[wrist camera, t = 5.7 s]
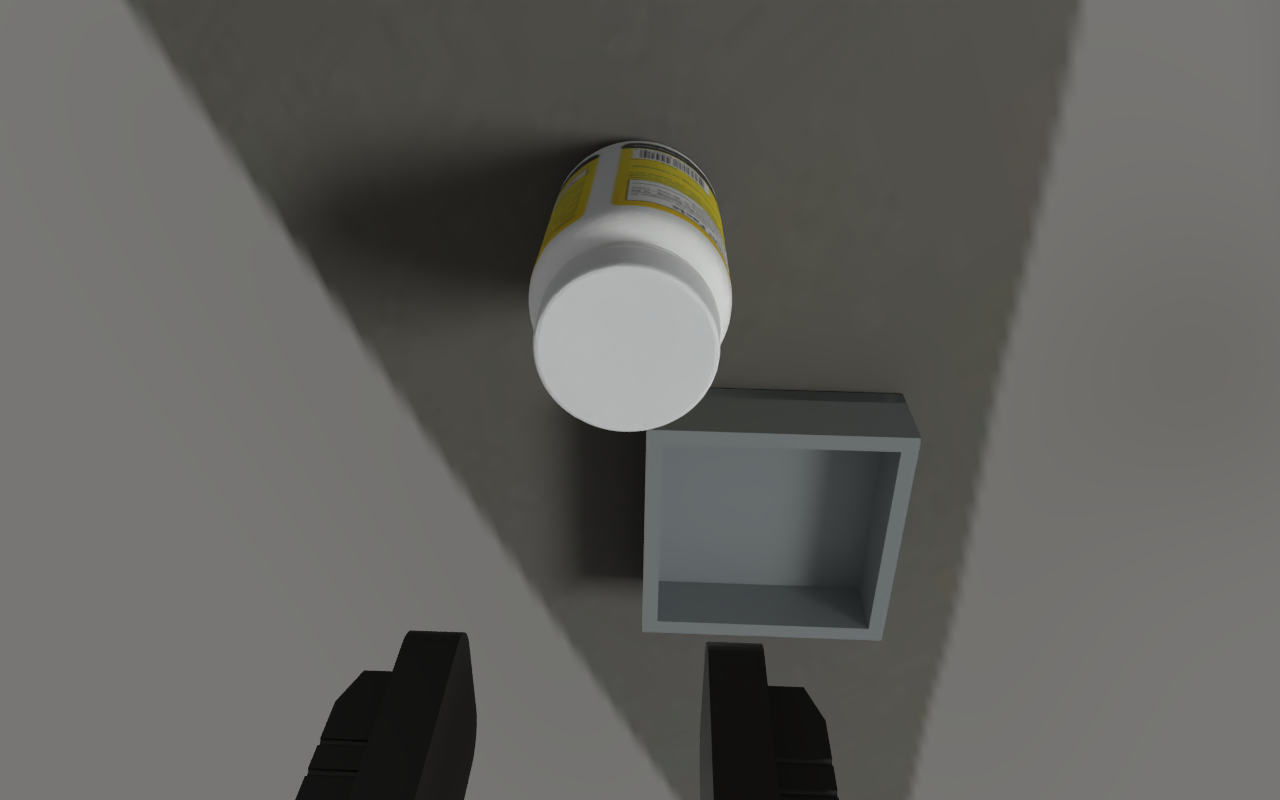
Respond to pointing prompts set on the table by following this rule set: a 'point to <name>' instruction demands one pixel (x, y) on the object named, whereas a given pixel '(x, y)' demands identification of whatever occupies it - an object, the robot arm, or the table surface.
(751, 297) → the table surface
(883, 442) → the tray
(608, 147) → the supplement bottle
